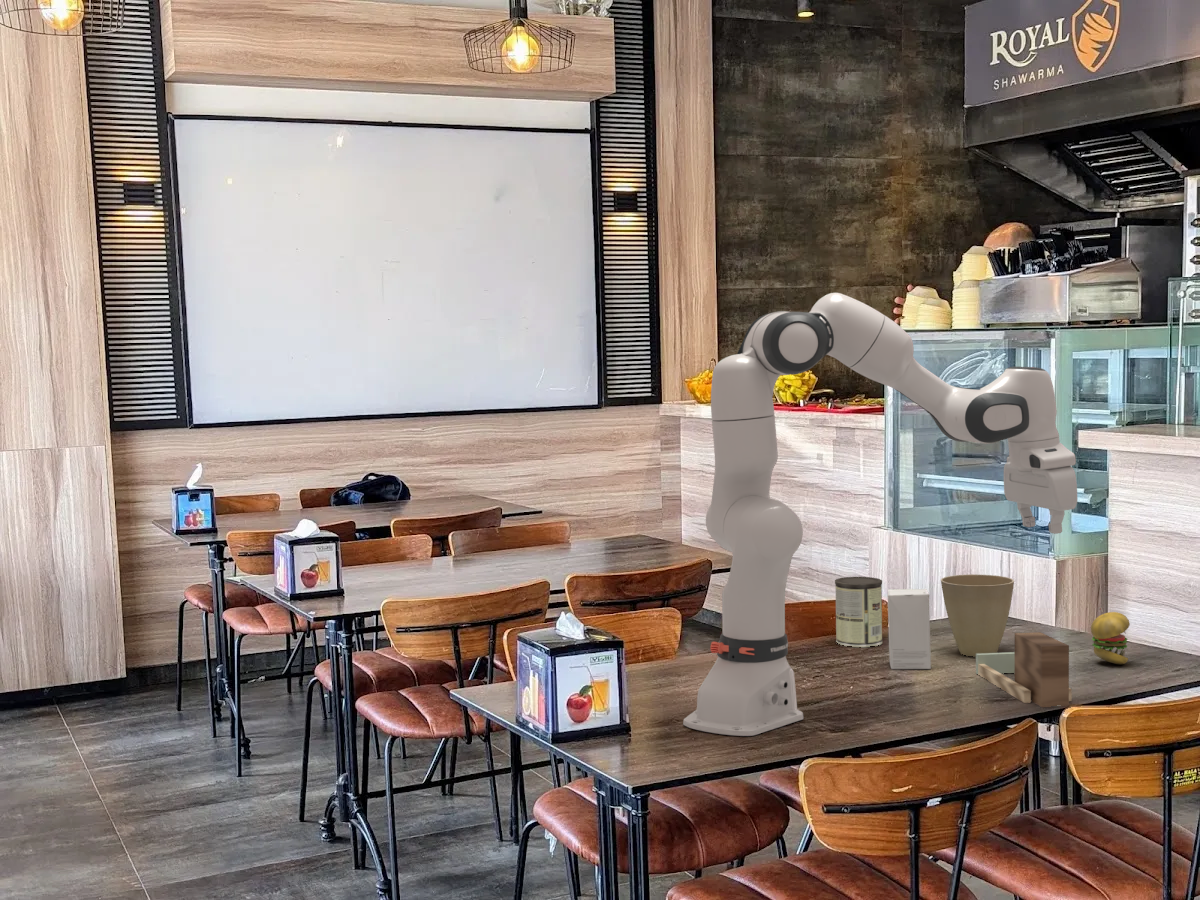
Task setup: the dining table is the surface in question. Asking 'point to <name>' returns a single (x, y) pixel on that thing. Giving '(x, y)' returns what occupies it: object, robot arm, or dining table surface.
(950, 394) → the robot arm
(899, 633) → the skincare box
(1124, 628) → the hamburger
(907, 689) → the dining table surface
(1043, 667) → the block
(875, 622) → the coffee can
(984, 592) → the plant pot
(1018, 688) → the chute
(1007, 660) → the end stop
